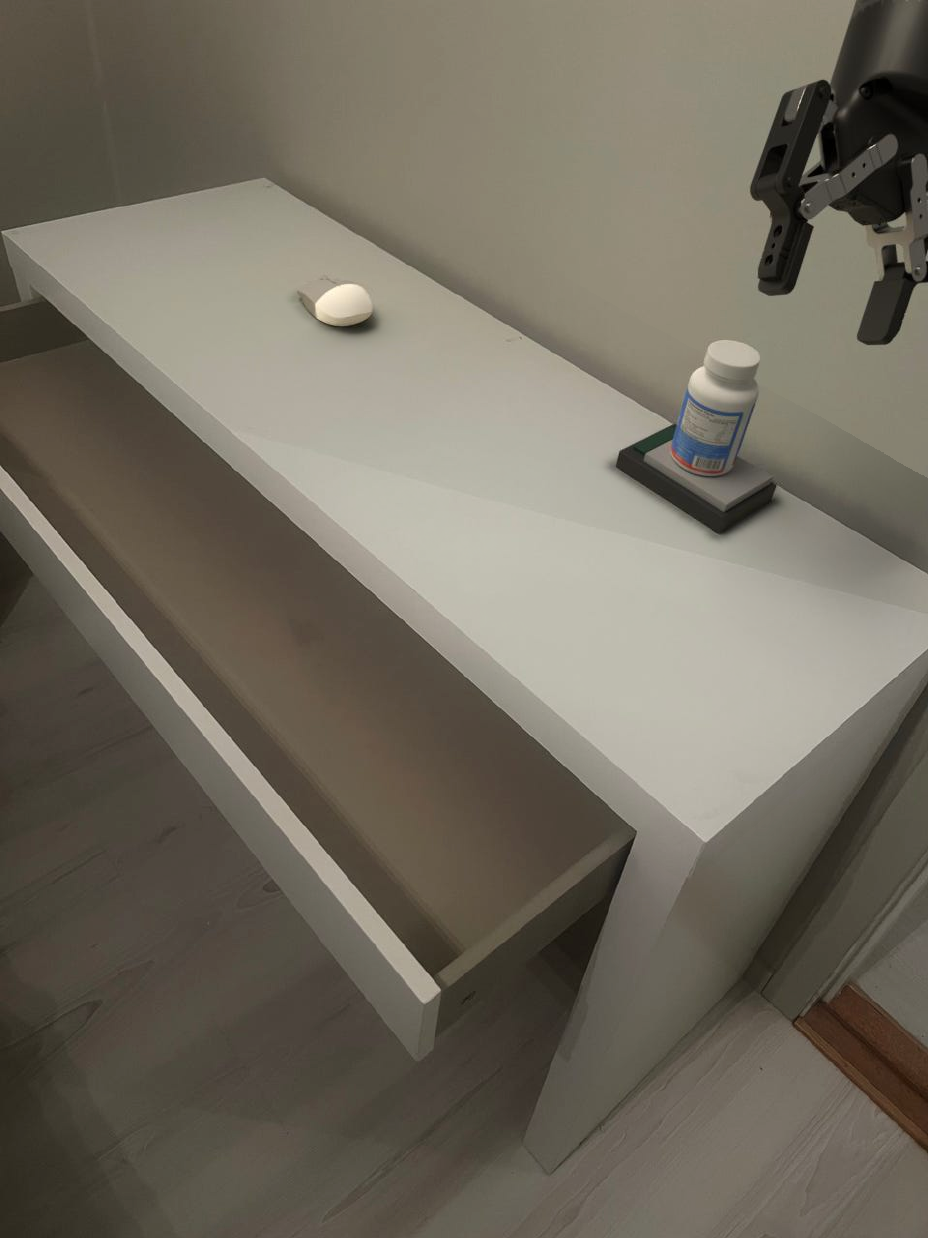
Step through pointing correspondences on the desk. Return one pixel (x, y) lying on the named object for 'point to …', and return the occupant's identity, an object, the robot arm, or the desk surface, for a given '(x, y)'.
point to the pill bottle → (717, 409)
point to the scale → (696, 482)
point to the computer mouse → (336, 301)
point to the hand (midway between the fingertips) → (825, 319)
